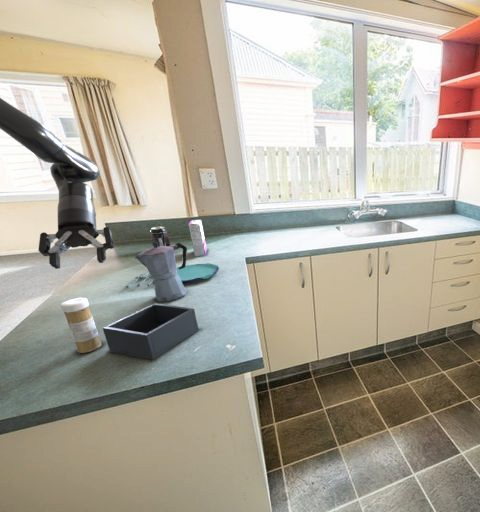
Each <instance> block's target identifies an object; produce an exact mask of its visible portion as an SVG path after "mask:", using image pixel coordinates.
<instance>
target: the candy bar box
mask: <svg viewBox="0 0 480 512" xmlns="http://www.w3.org/2000/svg"><path fill="white" fill-rule="evenodd" d="M187 225H188V226H187V227H188V230H189V235H190V239H191V240H190V241H191V245H192V249H193V253H194V257H203V256H206V255H207V251H208V248H207V242H206V237H205V231H204V227H203V223H202V219H193V220H190V221H189V223H188V224H187Z"/></svg>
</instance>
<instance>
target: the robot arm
mask: <svg viewBox="0 0 480 512" xmlns="http://www.w3.org/2000/svg"><path fill="white" fill-rule="evenodd" d="M0 130H1V131H2V132H4V133H5V134H7V135H8V136H10V137H11V138H12V139H14V141H16V142H17V143H19V144H20V145H21V146H22V147H24V148H25V149H26V150H27V151H29V152H30V153H31V154H32V155H34V156H35V157H36V158H38V159H39V160H41V161H42V162H44V163H48V164H51V165H50V167H49V173H50V175H51V177H52V179H53V181H54V183H55V186H56V188H57V190H58V204H57V231H56V233H47V232H41V233H39V241H38V249H37V251H38V252H39V253H40V254H41V255H42V256H43V257H49V258H48V259H49V260H48V264H49V265H50V266H51V267H52V268H54V269H55V270H57V269H58V270H59V269H61V255H62V254H63V253H64V252H67V251H68V250H69V249H70V248H72V249H73V248H78V247H88V246H92V247H94V248H95V249H96V260H97V262H98V263H99V264H103V263H104V262H105V261H106V260H107V250H109V249H110V250H113V249H114V248H115V243H114V239H113V232H112V230H111V229H110V228H109V227H108V226H105V227H103V228H102V229H97V213H96V208H95V204H94V203H95V202H94V192H93V189H92V187H91V186H90V185H89V184H87V182H93V181H96V180H98V179H99V178H100V175H101V170H100V168H99V166H98V165H97V164H96V163H95V162H94V161H93V160H92V159H91V158H90V157H88V156H86V155H85V154H82V153H81V152H79V151H77V150H75V149H74V148H72V147H70V146H68V145H66V144H65V143H64V142H63V141H62V140H61V139H59V138H58V136H56V135H55V134H54V133H53V132H52V131H50V130H49V129H48V128H47V127H46V126H45V125H43V123H40V122H39V121H38V120H36V119H34V118H33V117H32V116H29V115H28V114H27V113H25V112H23V111H22V110H20V109H18V108H17V107H15V106H14V105H12V104H10V103H9V102H7V101H6V100H4V99H3V98H1V97H0ZM99 236H102V237H103V238H104V240H105V242H104V243H101V241H99V240H98V239H97V238H98V237H99ZM56 239H57V241H55V240H56ZM54 241H55V242H54ZM53 243H54V245H53V246H52V247H51V245H52V244H53Z"/></svg>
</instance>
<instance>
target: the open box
mask: <svg viewBox="0 0 480 512" xmlns="http://www.w3.org/2000/svg"><path fill="white" fill-rule="evenodd" d="M198 326H199V325H198V320H197V315H196V311H195V308H193V307H185V306H177V305H171V304H164V303H163V304H162V303H155V302H154V303H152V304H150V305H148V306H146V307H143V308H141V309H139V310H138V311H135V312H133V313H131V314H129V315H127V316H125V317H123V318H121V319H119V320H116V321H114V322H112V323H110V324H108V325H106V326H104V327H102V332H103V334H104V337H105V341H106V343H107V347H108V349H109V352H112V353H116V354H121V355H126V356H132V357H136V358H142V359H147V360H156V359H157V358H158V357H160V356H161V355H163V354H165V353H166V352H168V351H169V350H171V349H172V348H174V347H175V346H177V345H178V344H180V343H181V342H183V341H184V340H186V339H187V338H189V337H190V336H192V335H193V334H195V333H196V332H198V331H199V327H198Z"/></svg>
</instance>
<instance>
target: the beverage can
mask: <svg viewBox="0 0 480 512" xmlns="http://www.w3.org/2000/svg"><path fill="white" fill-rule="evenodd" d="M150 236H151V240H152V243H154V242H156V243H158V247H161V246H170V245H171V242H170V238H169V233H168V230H167V228H166V227H165V226H154V227H151V230H150Z"/></svg>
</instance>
